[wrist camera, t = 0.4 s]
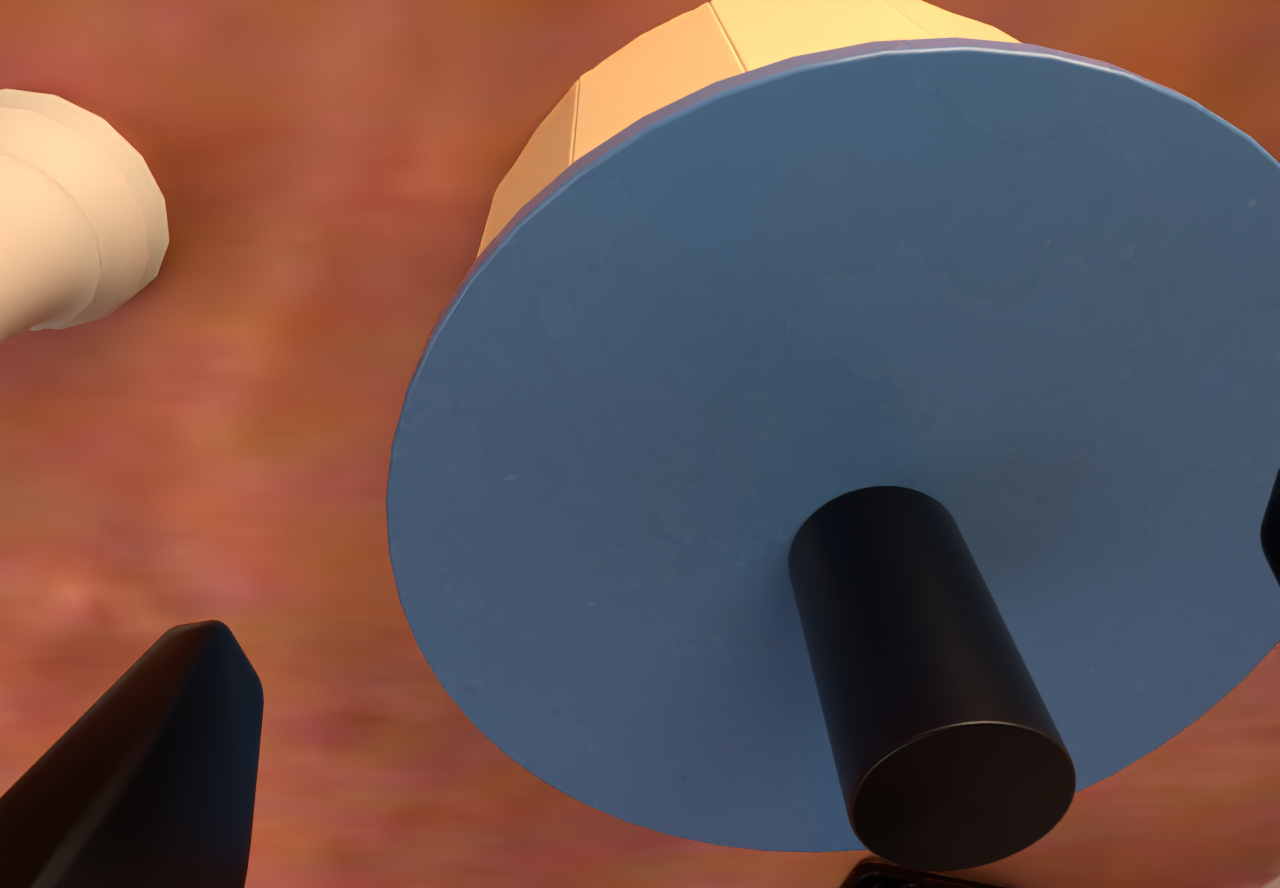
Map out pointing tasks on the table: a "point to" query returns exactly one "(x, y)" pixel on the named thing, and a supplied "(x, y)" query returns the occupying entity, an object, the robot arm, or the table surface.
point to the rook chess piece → (71, 216)
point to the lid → (857, 451)
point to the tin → (704, 72)
